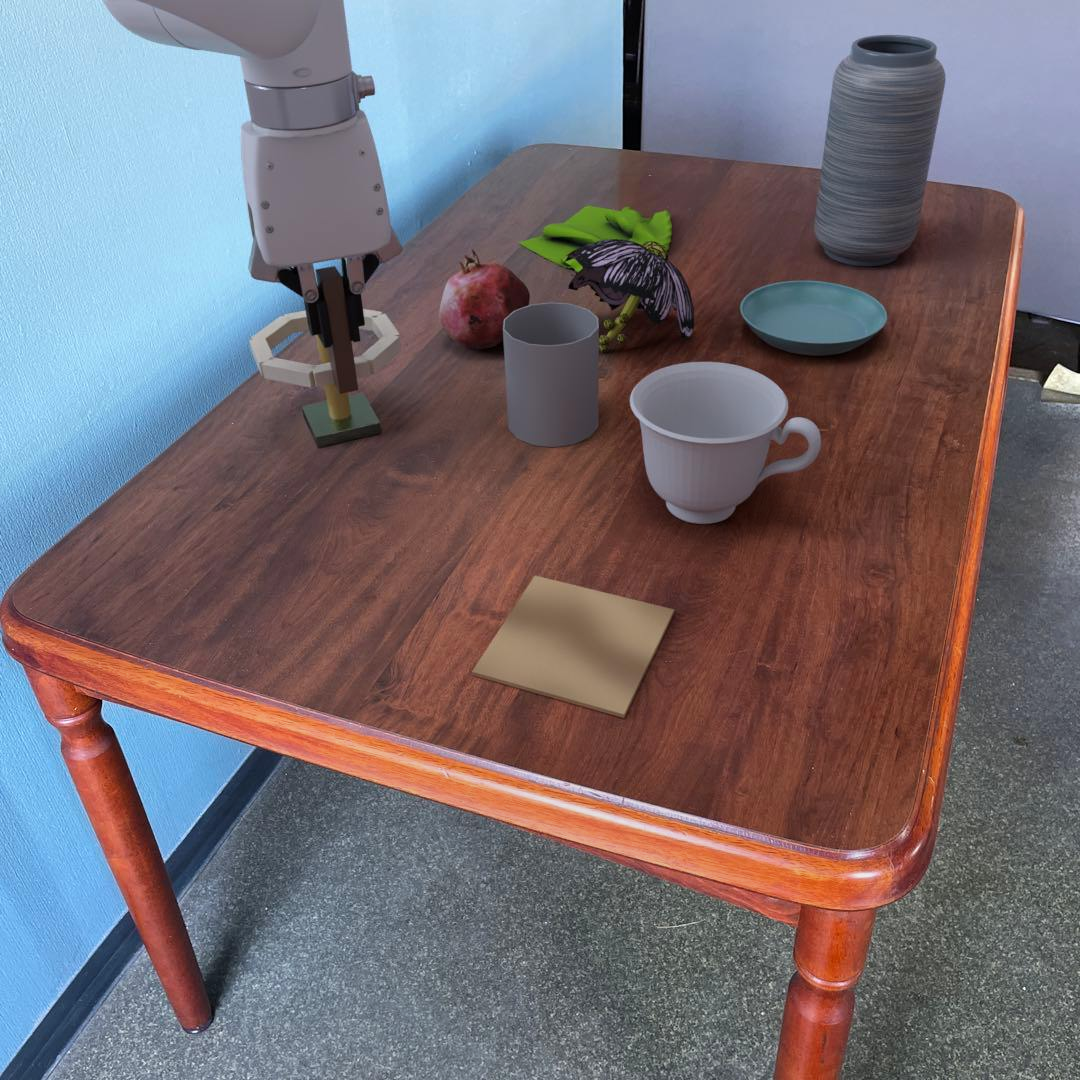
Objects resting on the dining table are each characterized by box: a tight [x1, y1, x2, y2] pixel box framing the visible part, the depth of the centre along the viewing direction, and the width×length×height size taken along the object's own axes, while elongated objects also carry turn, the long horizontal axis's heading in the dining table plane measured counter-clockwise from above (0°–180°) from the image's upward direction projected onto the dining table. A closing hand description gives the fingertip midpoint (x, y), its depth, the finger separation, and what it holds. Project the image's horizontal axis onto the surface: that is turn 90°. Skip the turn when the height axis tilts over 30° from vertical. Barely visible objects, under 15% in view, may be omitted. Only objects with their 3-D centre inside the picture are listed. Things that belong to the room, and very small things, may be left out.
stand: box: [301, 335, 382, 449], centre depth 96 cm, size 6×6×12 cm
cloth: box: [518, 205, 673, 273], centre depth 132 cm, size 20×22×2 cm
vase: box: [813, 34, 946, 267], centre depth 120 cm, size 12×12×23 cm
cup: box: [503, 301, 600, 448], centre depth 96 cm, size 8×8×10 cm
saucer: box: [739, 280, 888, 357], centre depth 111 cm, size 15×15×3 cm
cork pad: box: [471, 575, 676, 719], centre depth 76 cm, size 11×11×1 cm
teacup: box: [629, 361, 822, 525], centre depth 85 cm, size 12×15×10 cm
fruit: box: [438, 248, 531, 350], centre depth 109 cm, size 9×10×10 cm
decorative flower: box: [564, 239, 695, 353], centre depth 109 cm, size 14×12×15 cm
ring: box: [249, 265, 402, 394], centre depth 91 cm, size 14×12×10 cm
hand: (338, 336), depth 87 cm, fingers closed on ring
